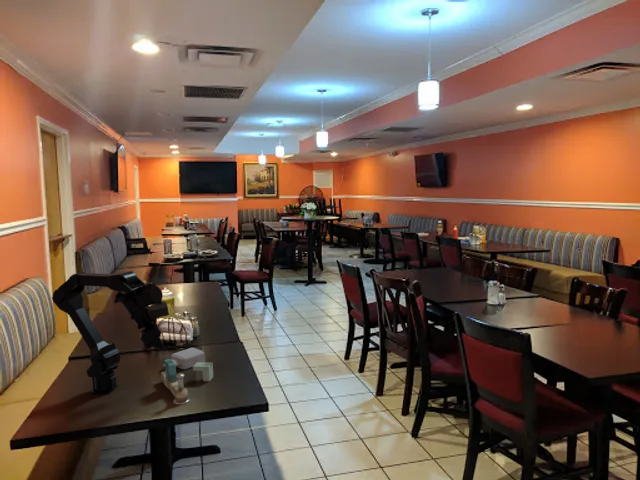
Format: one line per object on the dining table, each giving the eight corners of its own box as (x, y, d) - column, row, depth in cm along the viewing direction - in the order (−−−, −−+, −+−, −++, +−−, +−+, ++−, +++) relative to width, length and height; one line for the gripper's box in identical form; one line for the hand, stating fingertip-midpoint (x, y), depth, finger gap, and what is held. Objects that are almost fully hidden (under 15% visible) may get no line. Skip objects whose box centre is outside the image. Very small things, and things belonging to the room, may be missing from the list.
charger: (157, 369, 178) (191, 358, 189) (171, 375, 172) (205, 363, 183) (156, 357, 177) (190, 346, 189) (170, 363, 171) (204, 351, 183)
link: (189, 399, 151) (188, 373, 150) (177, 403, 148) (175, 376, 147) (170, 378, 168) (169, 354, 167) (159, 381, 166) (157, 356, 165)
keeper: (193, 380, 166) (192, 366, 166) (197, 376, 170) (197, 362, 170) (209, 381, 166) (208, 366, 165) (213, 376, 170) (212, 362, 169)
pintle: (170, 404, 149) (168, 378, 148) (177, 396, 154) (175, 371, 153) (186, 404, 148) (184, 378, 147) (192, 397, 154) (191, 371, 152)
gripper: (162, 305, 148) (186, 341, 154) (155, 285, 164) (178, 318, 171) (129, 324, 145) (156, 360, 152) (126, 302, 161) (150, 336, 168)
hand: (161, 342), depth 160 cm, fingers open, 9 cm apart
